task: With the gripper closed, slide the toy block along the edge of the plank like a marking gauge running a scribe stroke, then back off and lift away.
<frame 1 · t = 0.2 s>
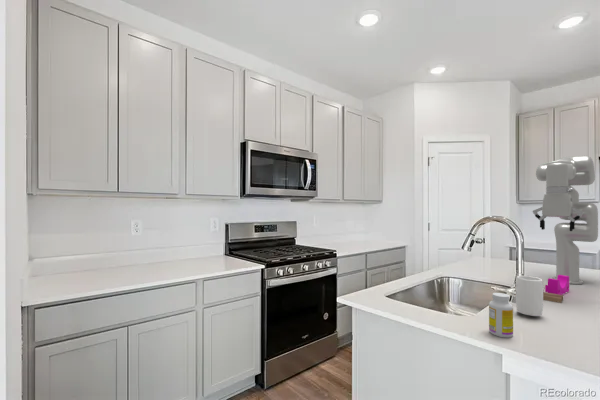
hand: (556, 230, 139), 31 cm above the counter, tool pointing down, fingers open, 9 cm apart
supplement bottle: (500, 334, 104), on the counter
plank: (536, 296, 144), on the counter
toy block: (555, 293, 151), on the counter
cup: (529, 315, 120), on the counter
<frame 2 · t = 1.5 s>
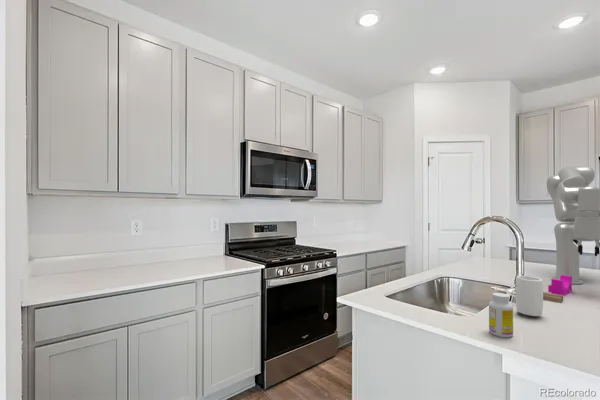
hand: (588, 254, 142), 19 cm above the counter, tool pointing down, fingers open, 4 cm apart
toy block: (558, 293, 150), on the counter
everything else where it was.
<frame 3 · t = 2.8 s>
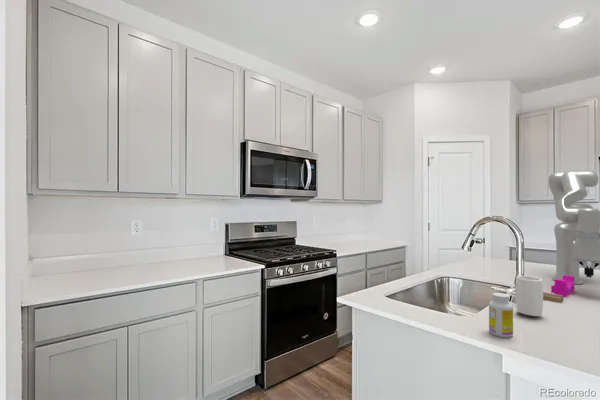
hand: (589, 276, 142), 10 cm above the counter, tool pointing down, fingers closed
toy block: (561, 293, 150), on the counter
everything else where it was.
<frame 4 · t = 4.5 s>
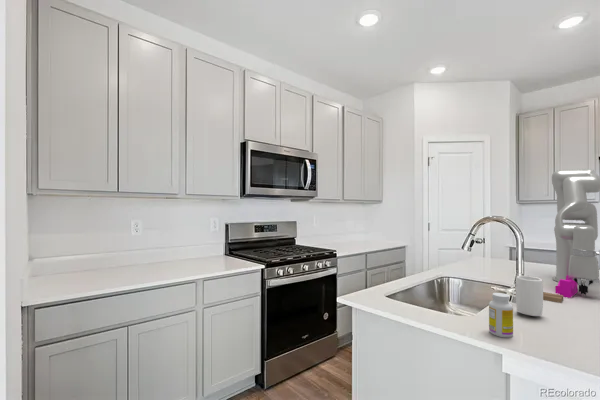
hand: (583, 293, 144), 1 cm above the counter, tool pointing down, fingers closed
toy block: (565, 293, 149), on the counter, touching gripper
everything else where it was.
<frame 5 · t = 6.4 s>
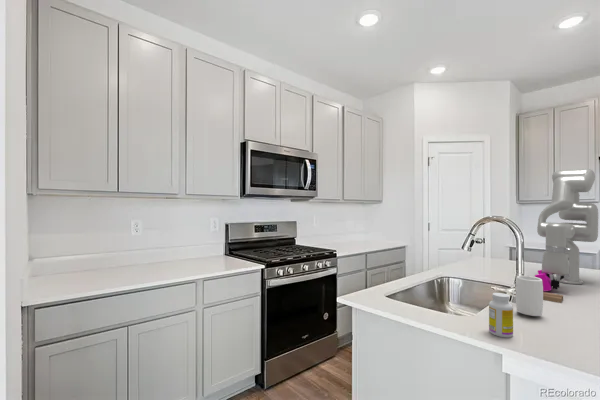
hand: (555, 288, 150), 2 cm above the counter, tool pointing down, fingers closed
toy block: (544, 288, 154), point 1 cm above the counter, touching gripper
everything else where it was.
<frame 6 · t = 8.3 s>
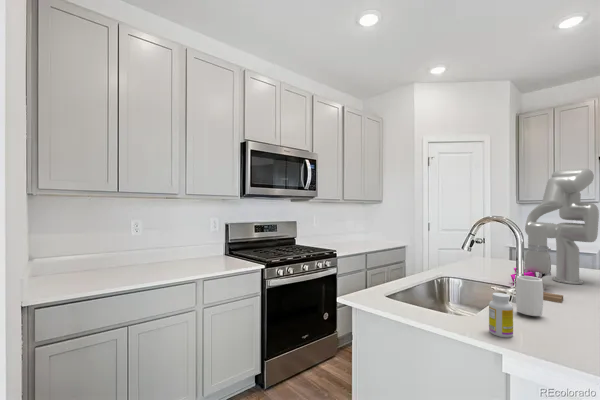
hand: (537, 285, 156), 2 cm above the counter, tool pointing down, fingers closed
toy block: (525, 285, 159), point 1 cm above the counter, touching gripper
everything else where it was.
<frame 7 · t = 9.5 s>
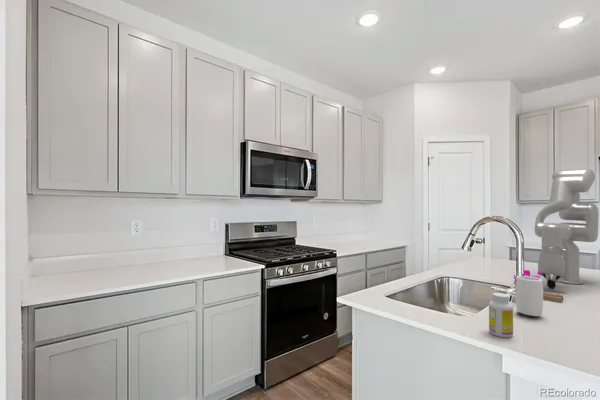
hand: (551, 288, 152), 1 cm above the counter, tool pointing down, fingers closed
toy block: (526, 288, 159), on the counter
everything else where it was.
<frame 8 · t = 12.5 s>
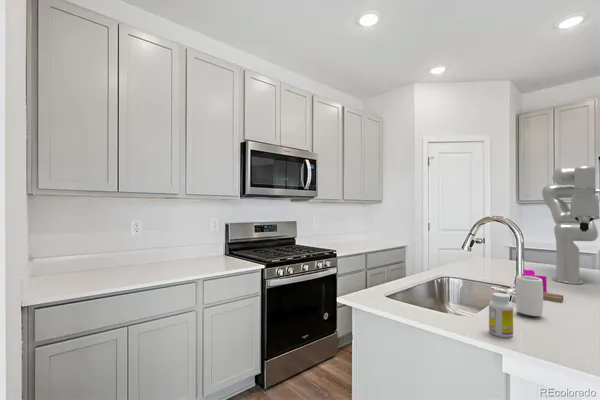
hand: (584, 231, 149), 29 cm above the counter, tool pointing down, fingers closed
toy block: (531, 288, 159), on the counter
everything else where it was.
at the end: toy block inside the target area (4.4 cm from its centre), on the counter; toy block moved 9.3 cm from its start; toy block tilted 0° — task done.
